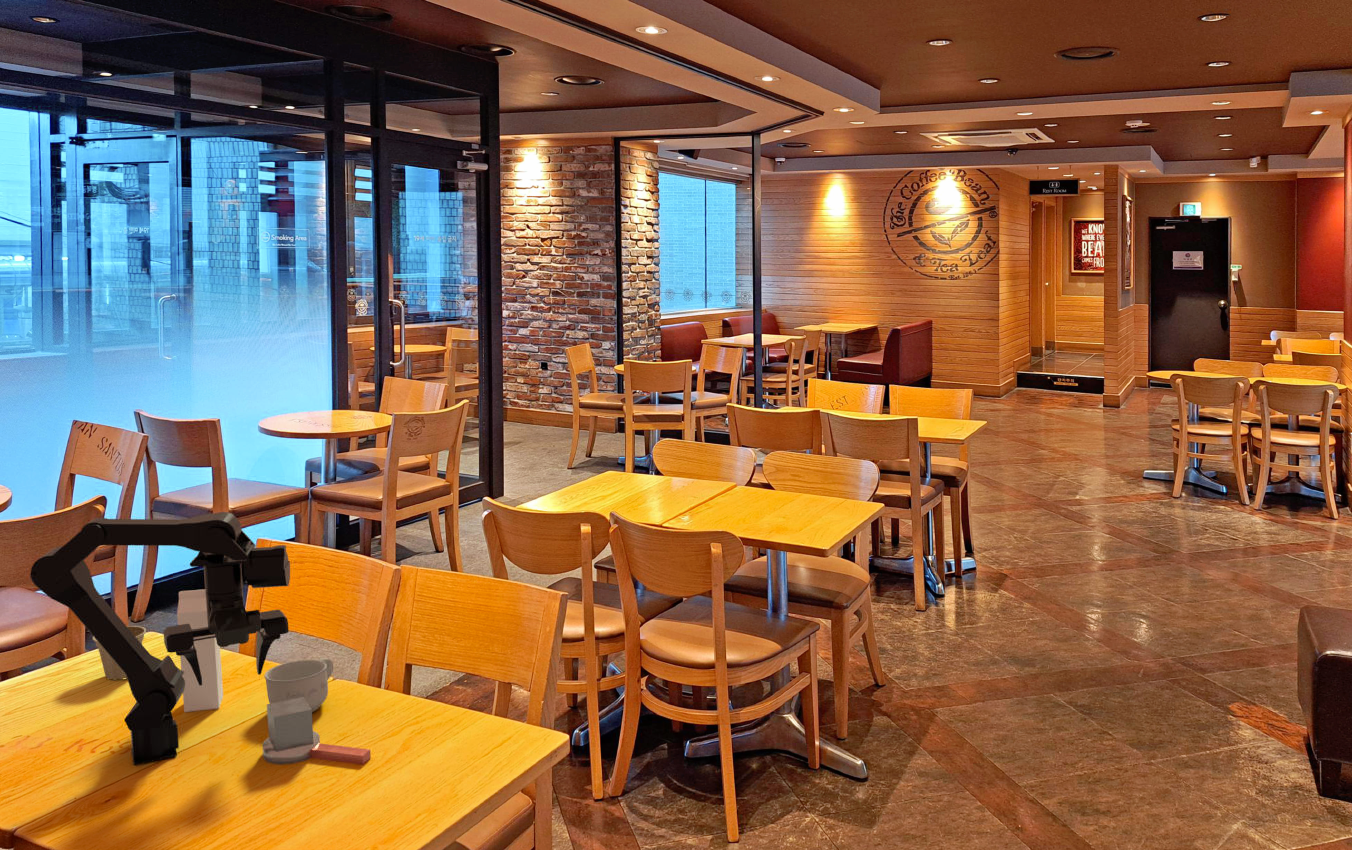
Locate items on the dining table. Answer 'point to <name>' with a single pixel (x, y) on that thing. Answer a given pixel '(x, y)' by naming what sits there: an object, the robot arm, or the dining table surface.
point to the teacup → (300, 681)
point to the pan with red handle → (315, 753)
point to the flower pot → (108, 663)
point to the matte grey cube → (290, 724)
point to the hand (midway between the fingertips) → (230, 679)
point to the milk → (200, 656)
